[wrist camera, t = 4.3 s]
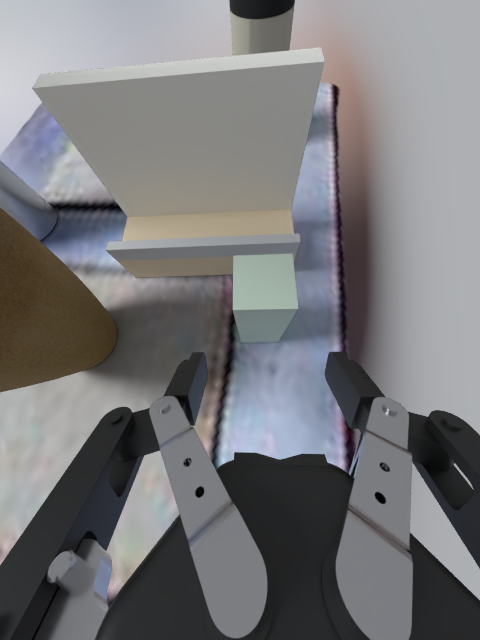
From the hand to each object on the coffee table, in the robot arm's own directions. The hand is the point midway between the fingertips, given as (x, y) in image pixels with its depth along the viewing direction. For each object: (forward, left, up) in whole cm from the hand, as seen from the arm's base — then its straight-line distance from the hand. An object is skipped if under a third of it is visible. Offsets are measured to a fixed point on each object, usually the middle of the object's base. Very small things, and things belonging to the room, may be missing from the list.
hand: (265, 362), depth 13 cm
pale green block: (+4, +4, -10) cm, 12 cm away
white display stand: (+7, +18, -10) cm, 22 cm away
